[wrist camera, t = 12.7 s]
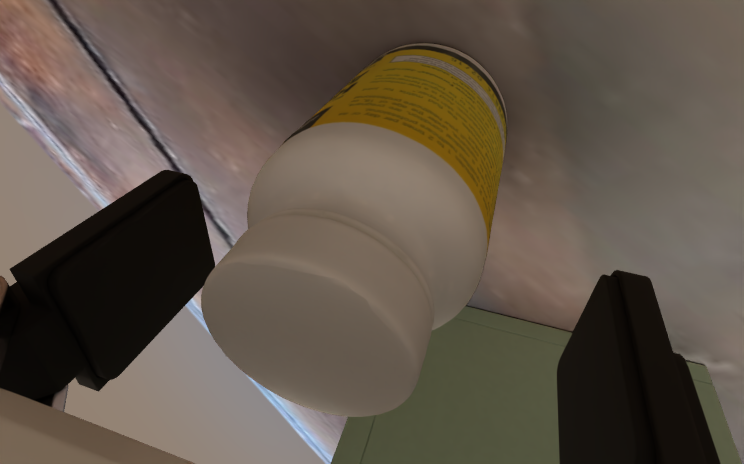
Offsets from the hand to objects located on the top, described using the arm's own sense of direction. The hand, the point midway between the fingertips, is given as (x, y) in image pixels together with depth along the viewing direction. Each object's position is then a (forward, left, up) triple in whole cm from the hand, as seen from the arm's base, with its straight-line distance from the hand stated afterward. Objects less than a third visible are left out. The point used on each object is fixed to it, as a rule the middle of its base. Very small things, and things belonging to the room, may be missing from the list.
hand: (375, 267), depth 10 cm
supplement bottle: (-1, 0, -7) cm, 7 cm away
